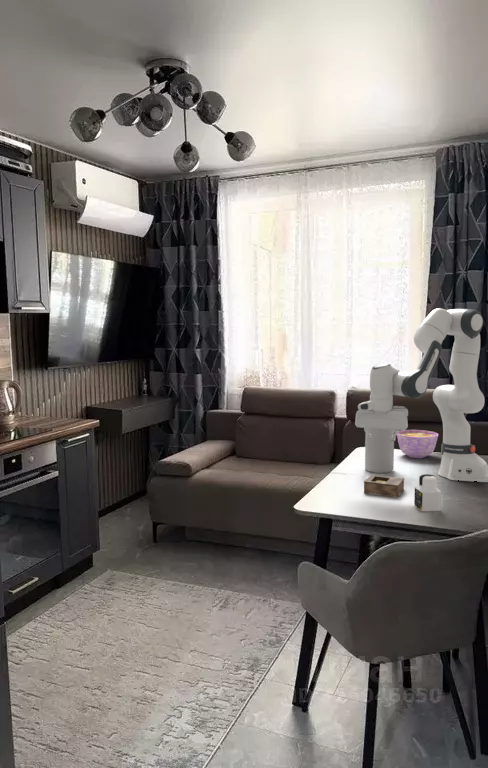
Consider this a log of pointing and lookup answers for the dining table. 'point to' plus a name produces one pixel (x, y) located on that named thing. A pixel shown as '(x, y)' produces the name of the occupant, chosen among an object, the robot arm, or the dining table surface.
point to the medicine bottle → (427, 494)
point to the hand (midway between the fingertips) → (381, 439)
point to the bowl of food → (417, 442)
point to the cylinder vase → (379, 451)
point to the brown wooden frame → (384, 485)
